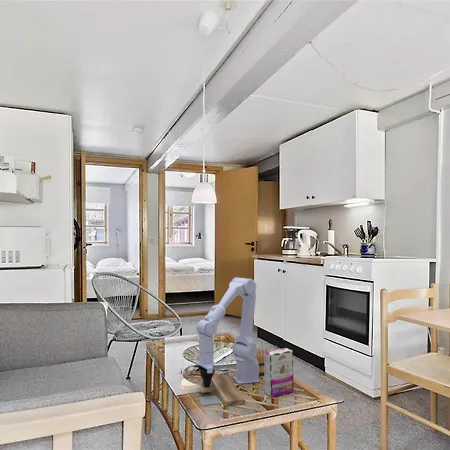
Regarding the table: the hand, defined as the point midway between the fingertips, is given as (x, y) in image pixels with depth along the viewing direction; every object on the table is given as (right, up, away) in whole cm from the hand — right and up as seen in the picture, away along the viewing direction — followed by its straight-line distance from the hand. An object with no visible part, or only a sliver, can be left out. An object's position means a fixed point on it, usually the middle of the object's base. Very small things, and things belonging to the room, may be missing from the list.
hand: (206, 385), depth 142 cm
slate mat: (+1, -3, -7) cm, 8 cm away
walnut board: (+8, -3, +2) cm, 9 cm away
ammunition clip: (+24, -4, +19) cm, 31 cm away
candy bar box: (+29, -3, 0) cm, 29 cm away
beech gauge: (0, -2, 0) cm, 2 cm away
